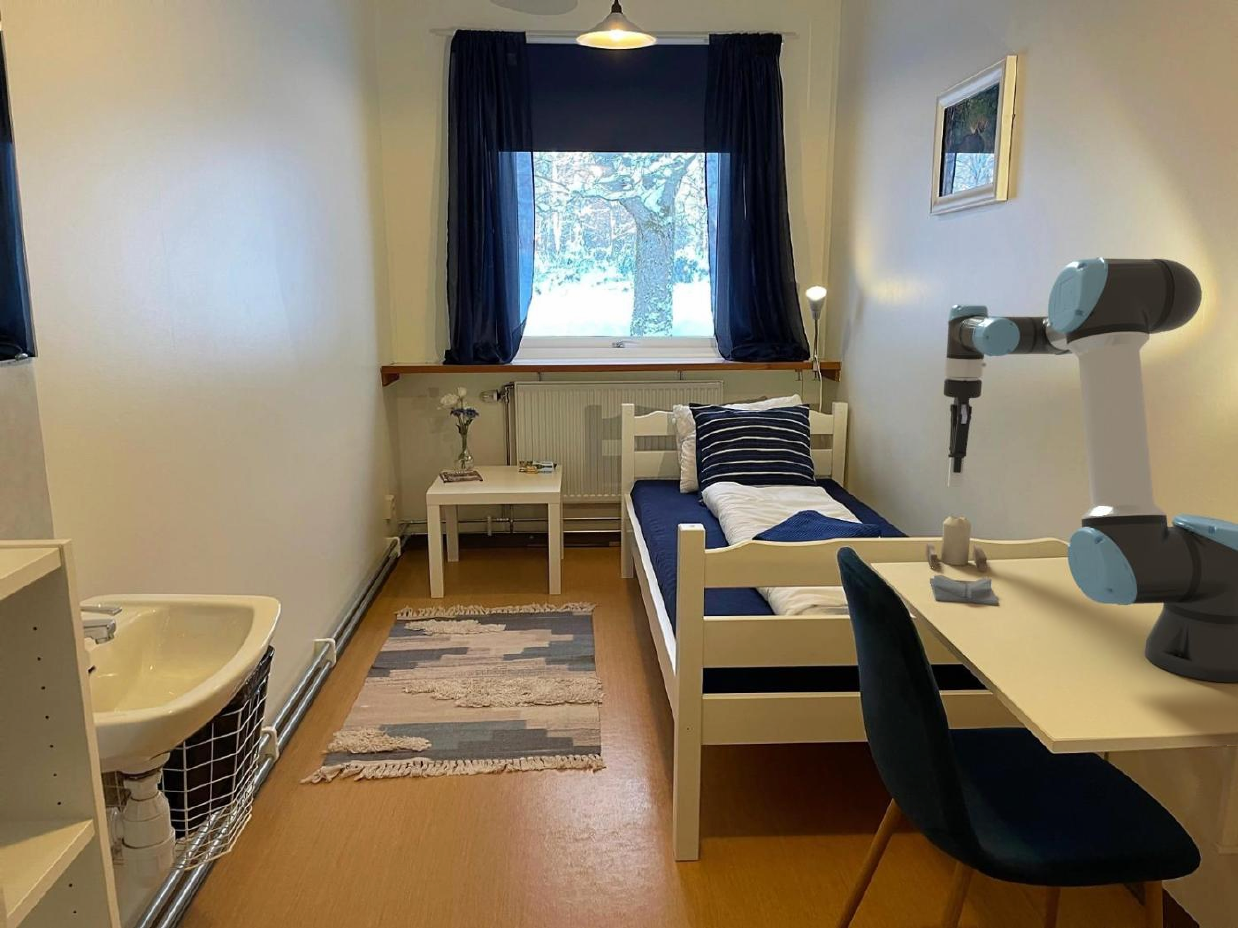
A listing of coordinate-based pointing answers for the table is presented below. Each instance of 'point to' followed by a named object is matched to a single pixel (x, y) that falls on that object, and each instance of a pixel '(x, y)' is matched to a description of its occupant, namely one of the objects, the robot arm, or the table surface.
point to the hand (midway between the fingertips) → (954, 486)
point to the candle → (955, 540)
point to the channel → (977, 556)
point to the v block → (963, 590)
